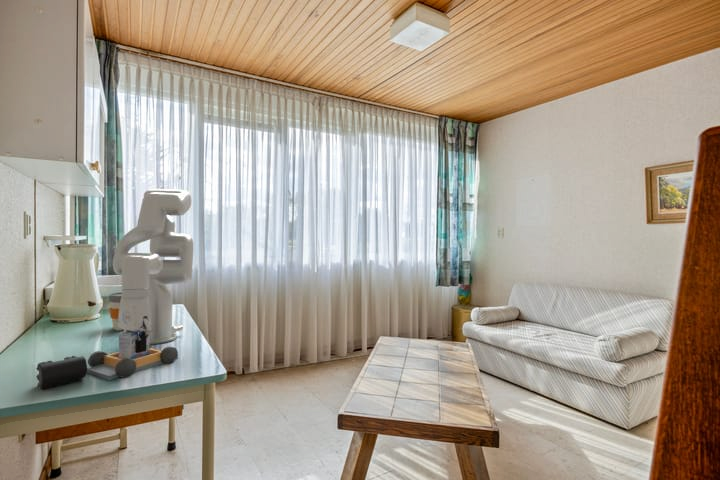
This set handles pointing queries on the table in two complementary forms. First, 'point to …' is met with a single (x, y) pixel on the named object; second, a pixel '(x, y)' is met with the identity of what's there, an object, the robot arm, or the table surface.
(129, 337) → the medicine box
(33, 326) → the table surface
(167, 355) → the chassis
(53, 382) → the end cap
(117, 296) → the reusable coffee cup
